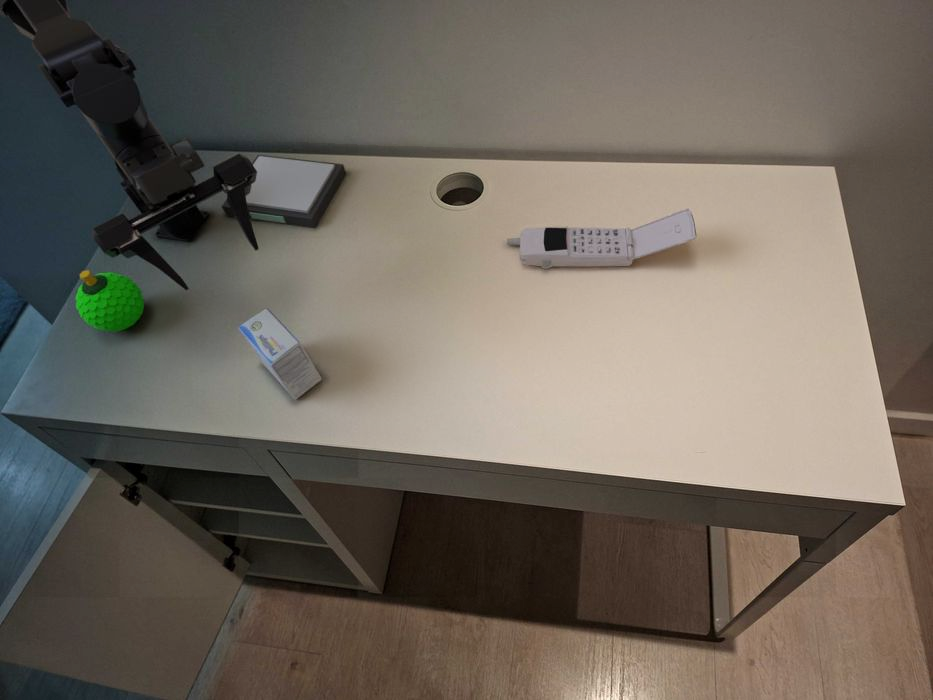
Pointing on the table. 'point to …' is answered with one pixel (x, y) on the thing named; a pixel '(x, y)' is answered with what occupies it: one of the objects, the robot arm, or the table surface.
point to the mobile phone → (602, 242)
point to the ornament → (109, 301)
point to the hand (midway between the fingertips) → (223, 269)
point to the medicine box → (280, 353)
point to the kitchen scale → (291, 190)
